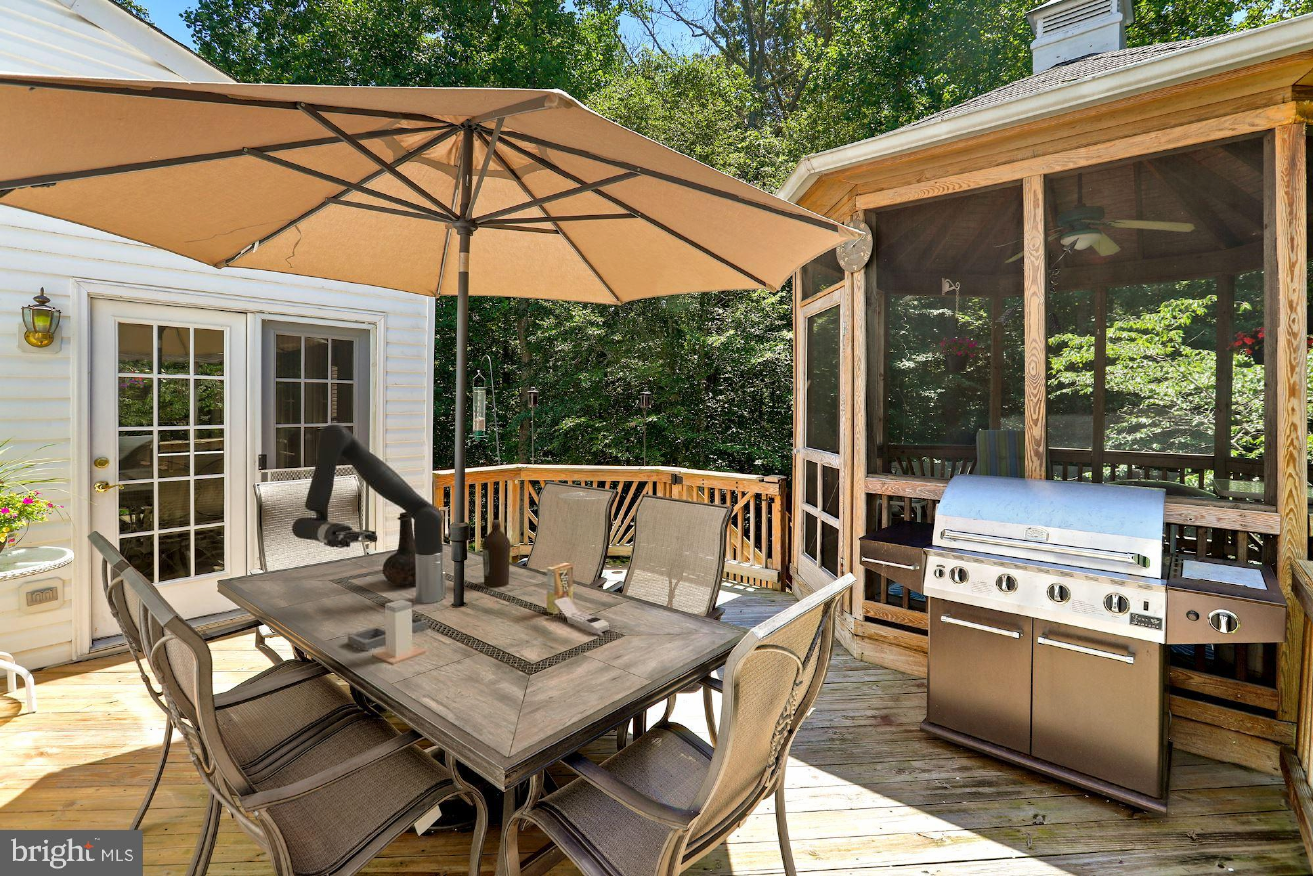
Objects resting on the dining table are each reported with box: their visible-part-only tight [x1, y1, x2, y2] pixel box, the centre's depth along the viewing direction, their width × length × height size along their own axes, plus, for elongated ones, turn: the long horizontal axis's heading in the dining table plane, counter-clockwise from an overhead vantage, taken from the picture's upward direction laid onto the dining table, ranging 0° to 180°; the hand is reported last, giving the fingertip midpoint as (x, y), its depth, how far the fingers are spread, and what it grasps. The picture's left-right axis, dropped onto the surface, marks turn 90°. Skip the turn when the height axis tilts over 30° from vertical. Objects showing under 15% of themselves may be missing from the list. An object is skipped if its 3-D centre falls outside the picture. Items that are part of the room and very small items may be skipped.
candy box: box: [546, 562, 574, 615], centre depth 213 cm, size 9×4×15 cm, turn 145°
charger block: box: [384, 599, 413, 657], centre depth 174 cm, size 5×5×14 cm
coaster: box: [372, 645, 427, 665], centre depth 175 cm, size 10×10×1 cm
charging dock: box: [347, 616, 429, 652], centre depth 188 cm, size 21×9×3 cm, turn 145°
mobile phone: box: [554, 597, 610, 637], centre depth 199 cm, size 6×6×25 cm
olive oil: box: [481, 519, 511, 588], centre depth 242 cm, size 11×11×25 cm
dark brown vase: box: [382, 511, 416, 587], centre depth 242 cm, size 18×18×28 cm
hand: (362, 541), depth 191 cm, fingers open, 8 cm apart
